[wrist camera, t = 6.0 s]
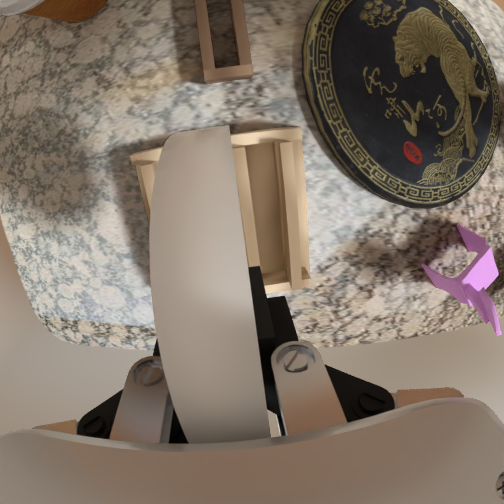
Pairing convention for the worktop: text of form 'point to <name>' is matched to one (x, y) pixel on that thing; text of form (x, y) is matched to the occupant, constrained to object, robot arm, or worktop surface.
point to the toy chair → (472, 279)
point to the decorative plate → (402, 96)
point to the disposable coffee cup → (53, 8)
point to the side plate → (205, 291)
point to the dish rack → (262, 202)
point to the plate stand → (240, 40)
